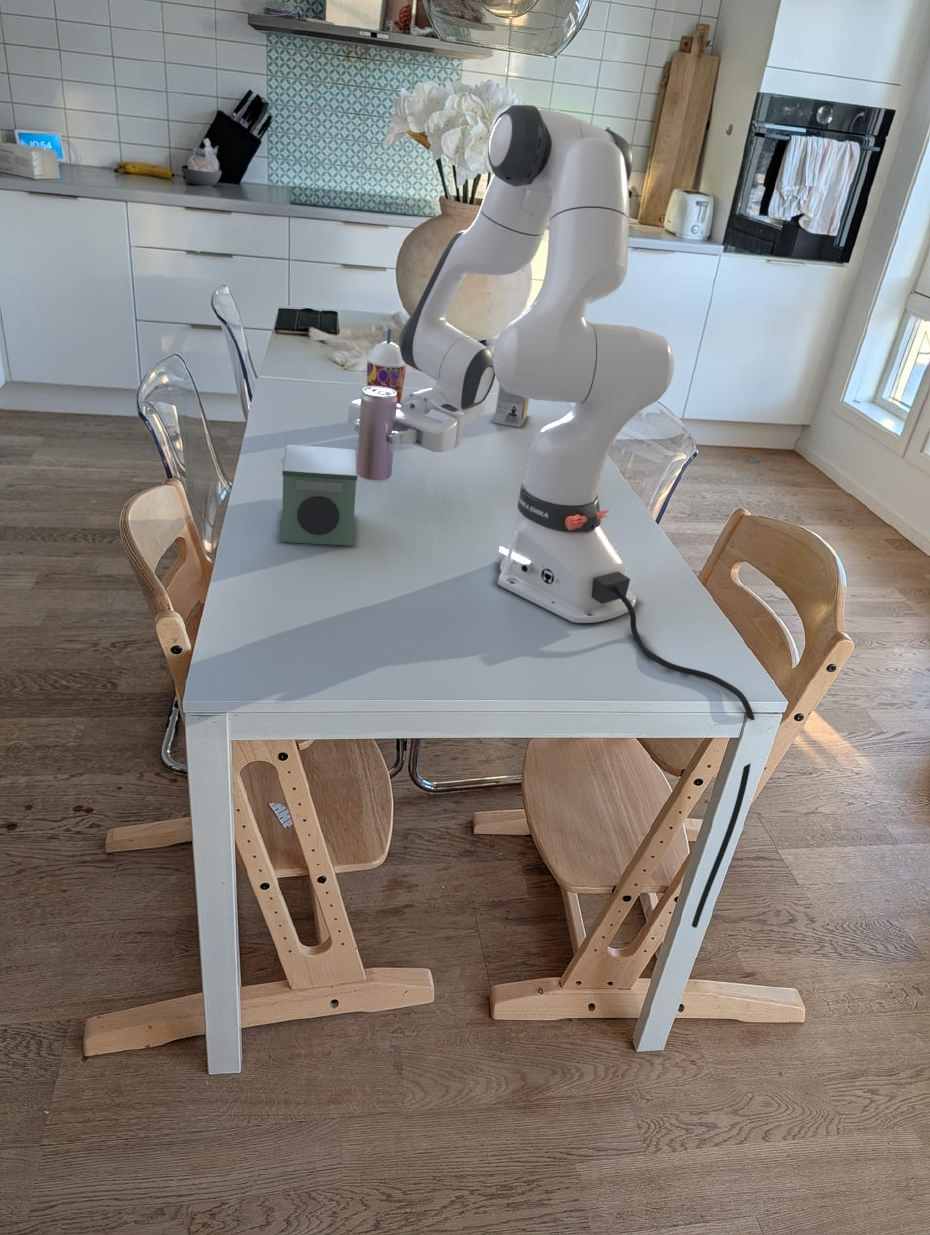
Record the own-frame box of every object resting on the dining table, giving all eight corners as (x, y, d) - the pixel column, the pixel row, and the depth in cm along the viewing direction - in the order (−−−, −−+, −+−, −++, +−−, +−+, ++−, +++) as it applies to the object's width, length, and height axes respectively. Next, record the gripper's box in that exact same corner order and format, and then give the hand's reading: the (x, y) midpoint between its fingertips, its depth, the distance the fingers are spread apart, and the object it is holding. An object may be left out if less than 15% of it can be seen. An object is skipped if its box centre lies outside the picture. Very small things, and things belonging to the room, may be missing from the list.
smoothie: (366, 429, 192) (373, 333, 182) (359, 416, 199) (365, 322, 189) (405, 430, 195) (414, 335, 185) (396, 416, 201) (404, 324, 191)
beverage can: (369, 467, 160) (375, 383, 152) (398, 477, 158) (404, 392, 150) (349, 476, 155) (353, 390, 148) (377, 486, 153) (384, 399, 145)
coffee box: (500, 411, 213) (510, 342, 205) (526, 416, 213) (537, 347, 205) (493, 423, 206) (503, 351, 198) (521, 428, 205) (532, 356, 197)
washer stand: (352, 547, 145) (357, 477, 138) (280, 543, 143) (282, 472, 137) (352, 516, 154) (356, 449, 148) (284, 512, 153) (286, 444, 147)
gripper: (377, 384, 165) (326, 398, 155) (471, 414, 156) (424, 431, 146) (374, 418, 168) (325, 434, 158) (467, 449, 159) (421, 468, 149)
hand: (373, 433), depth 152 cm, fingers closed on beverage can, 6 cm apart
